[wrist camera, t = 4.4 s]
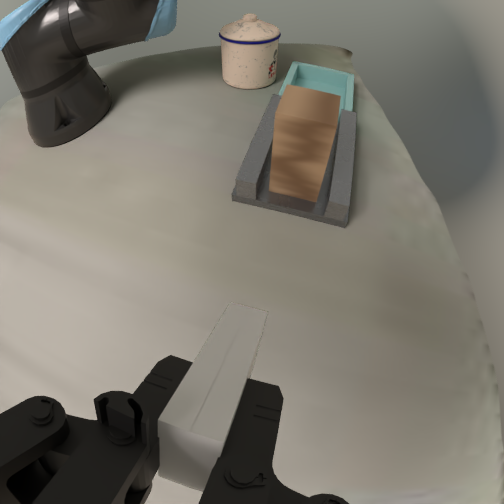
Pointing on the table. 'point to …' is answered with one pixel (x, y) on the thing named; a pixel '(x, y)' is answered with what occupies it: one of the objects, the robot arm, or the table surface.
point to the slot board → (333, 184)
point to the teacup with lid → (249, 52)
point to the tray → (322, 82)
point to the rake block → (302, 141)
